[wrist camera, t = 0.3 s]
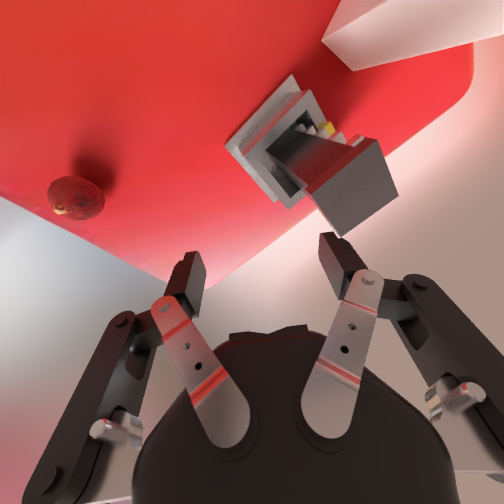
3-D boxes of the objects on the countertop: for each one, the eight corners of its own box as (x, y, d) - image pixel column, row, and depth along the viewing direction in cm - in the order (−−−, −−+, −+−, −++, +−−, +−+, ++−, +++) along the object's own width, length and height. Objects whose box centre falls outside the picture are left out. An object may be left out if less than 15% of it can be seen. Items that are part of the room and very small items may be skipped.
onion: (105, 170, 29) (75, 187, 23) (118, 207, 33) (95, 231, 26) (59, 169, 28) (15, 187, 22) (78, 207, 32) (44, 233, 25)
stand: (223, 144, 30) (228, 157, 22) (288, 75, 26) (319, 63, 19) (272, 200, 36) (288, 224, 29) (329, 150, 33) (364, 163, 25)
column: (258, 148, 29) (310, 194, 14) (289, 118, 28) (384, 133, 12) (278, 174, 32) (340, 237, 17) (307, 148, 30) (405, 191, 15)
